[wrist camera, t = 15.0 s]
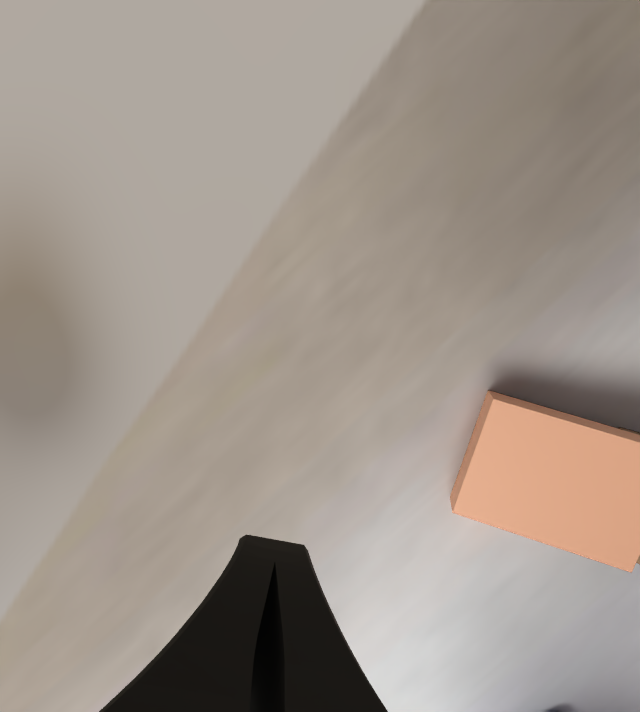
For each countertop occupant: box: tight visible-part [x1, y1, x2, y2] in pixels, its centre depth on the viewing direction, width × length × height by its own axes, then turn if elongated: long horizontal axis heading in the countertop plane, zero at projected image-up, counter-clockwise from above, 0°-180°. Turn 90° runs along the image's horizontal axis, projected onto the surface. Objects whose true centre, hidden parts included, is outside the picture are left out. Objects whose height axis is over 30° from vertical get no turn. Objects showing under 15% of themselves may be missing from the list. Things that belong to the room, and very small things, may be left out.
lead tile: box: [450, 390, 640, 572], centre depth 19 cm, size 1×5×7 cm
